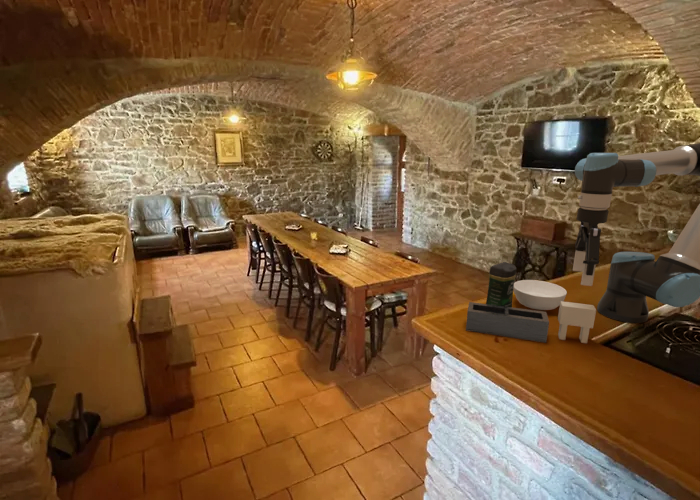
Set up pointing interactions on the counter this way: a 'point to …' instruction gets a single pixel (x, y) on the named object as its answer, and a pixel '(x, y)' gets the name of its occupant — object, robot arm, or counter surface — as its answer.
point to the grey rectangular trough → (507, 322)
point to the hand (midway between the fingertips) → (581, 277)
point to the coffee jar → (501, 284)
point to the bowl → (539, 294)
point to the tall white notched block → (576, 318)
